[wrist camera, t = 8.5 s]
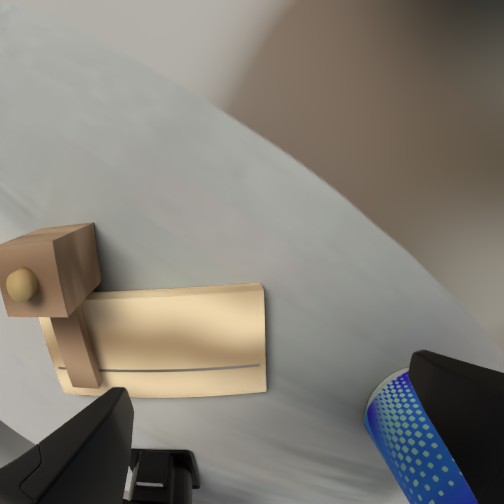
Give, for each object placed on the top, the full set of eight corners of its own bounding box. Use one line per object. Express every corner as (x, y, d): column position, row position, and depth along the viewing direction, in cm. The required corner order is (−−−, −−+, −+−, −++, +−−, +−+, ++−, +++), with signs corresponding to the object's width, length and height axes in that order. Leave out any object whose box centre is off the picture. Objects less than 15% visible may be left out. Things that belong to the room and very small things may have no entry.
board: (263, 379, 23) (266, 391, 21) (70, 382, 21) (64, 393, 20) (260, 282, 21) (263, 290, 19) (43, 293, 19) (34, 301, 18)
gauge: (122, 367, 21) (98, 428, 15) (73, 365, 21) (40, 420, 14) (94, 222, 19) (42, 245, 12) (41, 228, 18) (-19, 252, 12)
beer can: (410, 344, 24) (530, 460, 9) (443, 381, 26) (534, 475, 11) (342, 410, 25) (419, 552, 9) (385, 436, 27) (453, 545, 11)
